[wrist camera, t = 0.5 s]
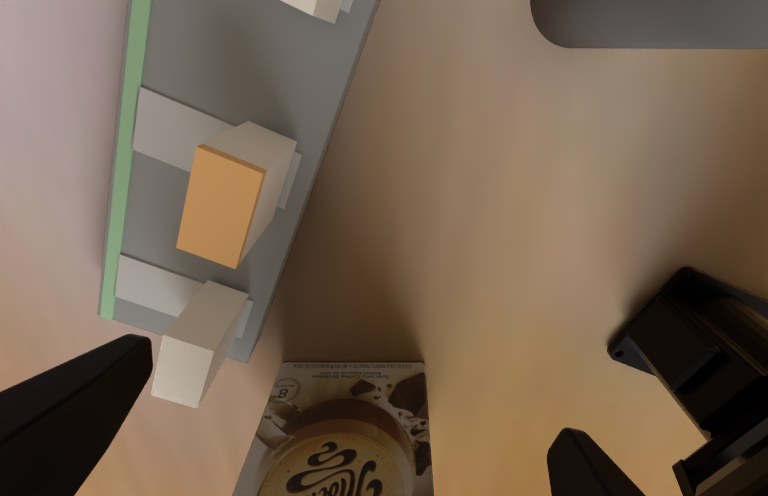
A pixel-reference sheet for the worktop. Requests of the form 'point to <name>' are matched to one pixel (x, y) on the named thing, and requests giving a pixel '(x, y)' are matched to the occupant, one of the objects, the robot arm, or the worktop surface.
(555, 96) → the worktop surface
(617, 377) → the worktop surface
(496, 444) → the worktop surface
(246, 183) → the block
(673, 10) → the dark grey tall block
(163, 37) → the breaker panel
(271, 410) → the coffee box
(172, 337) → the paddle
